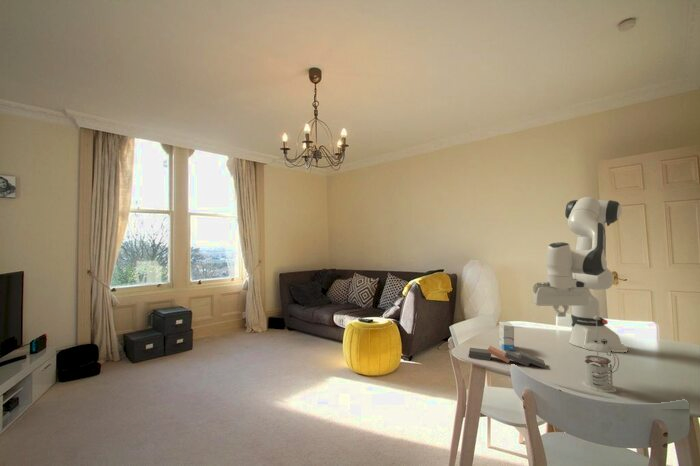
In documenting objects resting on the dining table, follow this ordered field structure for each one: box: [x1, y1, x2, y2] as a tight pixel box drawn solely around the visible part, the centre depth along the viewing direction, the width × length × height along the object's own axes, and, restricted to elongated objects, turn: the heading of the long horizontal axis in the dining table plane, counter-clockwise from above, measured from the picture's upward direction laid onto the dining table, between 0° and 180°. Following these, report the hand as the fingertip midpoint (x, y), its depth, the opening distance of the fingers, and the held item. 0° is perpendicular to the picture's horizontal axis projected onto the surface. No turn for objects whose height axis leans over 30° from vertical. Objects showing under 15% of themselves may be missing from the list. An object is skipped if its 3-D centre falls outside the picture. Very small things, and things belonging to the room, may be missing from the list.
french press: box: [581, 316, 620, 393], centre depth 115 cm, size 10×12×25 cm
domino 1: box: [468, 347, 492, 359], centre depth 145 cm, size 2×5×9 cm
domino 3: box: [487, 345, 511, 364], centre depth 141 cm, size 2×5×9 cm
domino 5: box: [518, 350, 546, 369], centre depth 135 cm, size 2×5×9 cm
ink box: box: [498, 321, 515, 352], centre depth 157 cm, size 9×5×12 cm, turn 168°
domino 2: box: [468, 354, 492, 361], centre depth 145 cm, size 2×5×9 cm
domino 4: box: [504, 350, 530, 367], centre depth 137 cm, size 2×5×9 cm
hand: (560, 316), depth 131 cm, fingers closed
